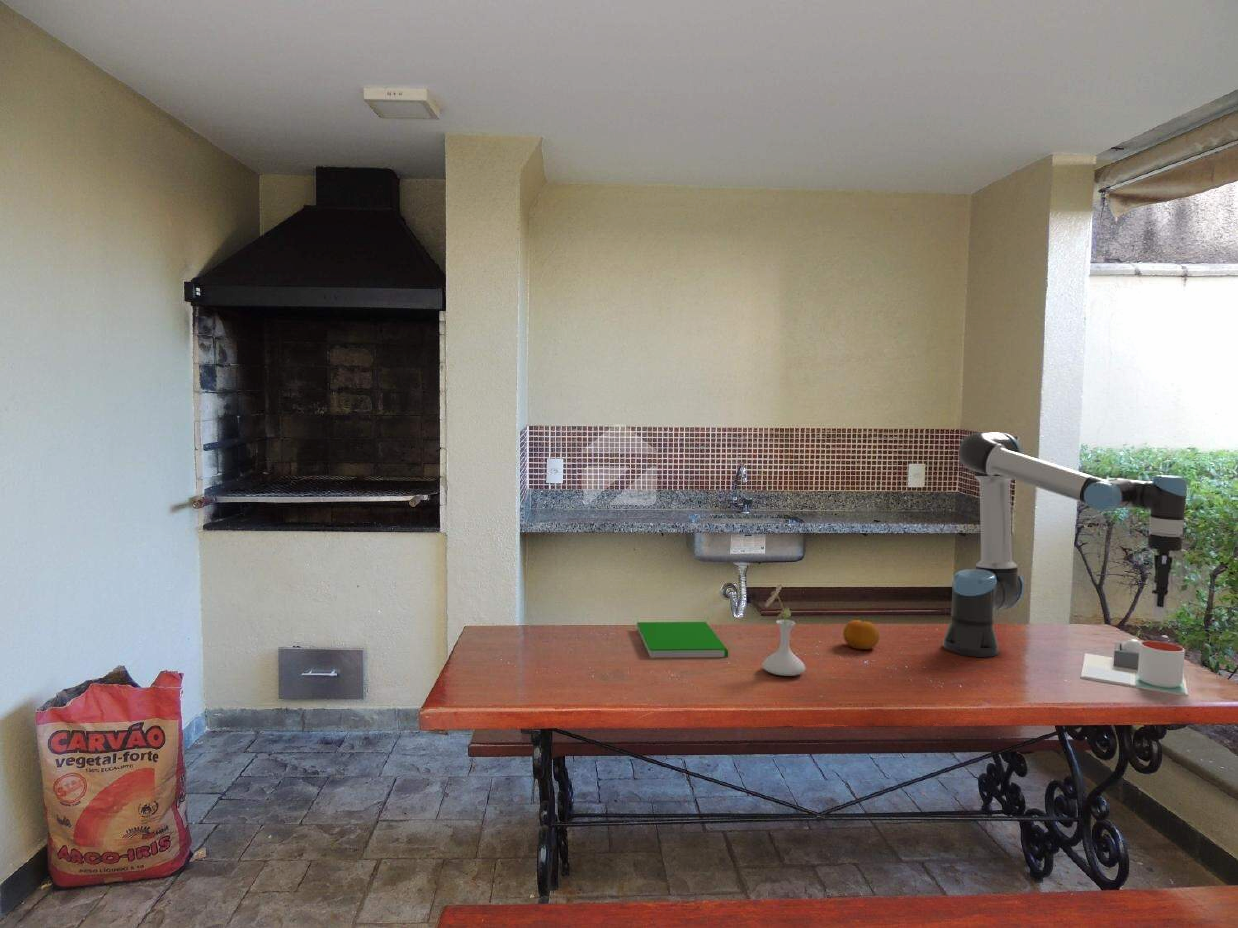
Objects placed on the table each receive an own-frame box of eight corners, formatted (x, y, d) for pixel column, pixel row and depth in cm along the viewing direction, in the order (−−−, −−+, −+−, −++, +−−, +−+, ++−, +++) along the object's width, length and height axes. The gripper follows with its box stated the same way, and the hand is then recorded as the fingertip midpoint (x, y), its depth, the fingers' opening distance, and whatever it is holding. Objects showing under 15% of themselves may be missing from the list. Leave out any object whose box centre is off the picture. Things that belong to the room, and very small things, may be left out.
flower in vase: (778, 663, 234) (781, 574, 232) (813, 673, 226) (817, 581, 224) (749, 673, 225) (753, 580, 223) (785, 684, 217) (789, 588, 215)
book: (649, 659, 236) (649, 649, 236) (636, 631, 264) (636, 622, 264) (728, 658, 239) (728, 648, 238) (707, 631, 266) (707, 621, 266)
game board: (1081, 677, 228) (1082, 660, 228) (1085, 654, 249) (1086, 638, 249) (1187, 696, 216) (1189, 677, 215) (1182, 670, 237) (1183, 653, 237)
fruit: (883, 646, 253) (884, 620, 253) (873, 654, 244) (874, 627, 244) (848, 640, 259) (850, 614, 258) (837, 648, 250) (839, 621, 249)
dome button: (1120, 662, 238) (1122, 640, 238) (1120, 657, 243) (1122, 635, 243) (1145, 666, 235) (1147, 643, 235) (1145, 661, 240) (1147, 638, 240)
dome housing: (1113, 665, 238) (1114, 650, 237) (1113, 657, 246) (1115, 642, 245) (1152, 672, 233) (1154, 656, 233) (1151, 663, 241) (1153, 648, 241)
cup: (1188, 691, 218) (1192, 653, 217) (1146, 687, 220) (1149, 649, 219) (1171, 678, 227) (1174, 642, 227) (1131, 675, 229) (1133, 639, 229)
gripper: (1184, 542, 210) (1176, 626, 211) (1180, 529, 231) (1173, 605, 233) (1149, 538, 213) (1141, 620, 215) (1148, 526, 235) (1141, 601, 237)
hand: (1158, 613), depth 224 cm, fingers open, 13 cm apart
